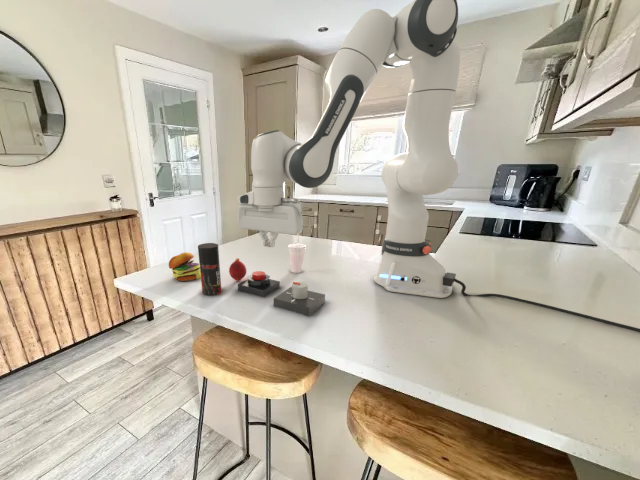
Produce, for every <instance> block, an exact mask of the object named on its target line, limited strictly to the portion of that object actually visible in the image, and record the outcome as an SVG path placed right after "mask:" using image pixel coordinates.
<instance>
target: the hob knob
mask: <svg viewBox="0 0 640 480" xmlns="http://www.w3.org/2000/svg"><path fill="white" fill-rule="evenodd" d="M291 287H292V297H293V298H295V299H306V298H307V297H308V291H309V284H308V282H305V281H293V282H292V284H291Z"/></svg>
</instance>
